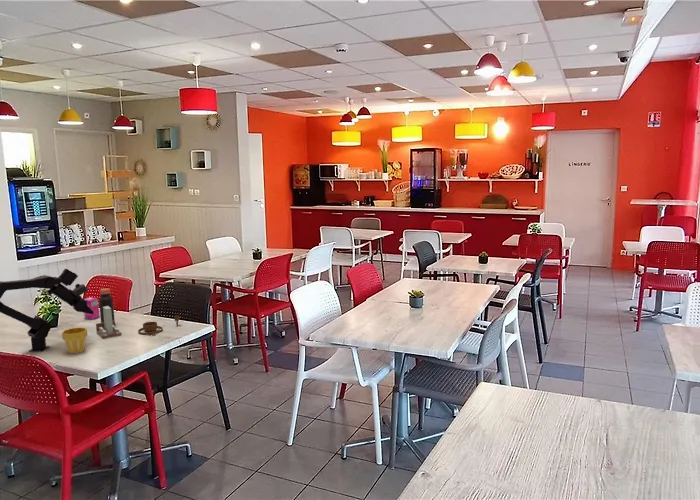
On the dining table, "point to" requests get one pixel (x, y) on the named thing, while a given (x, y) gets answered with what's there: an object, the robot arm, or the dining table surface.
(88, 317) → the supplement box
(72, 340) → the plant pot
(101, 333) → the cabinet base
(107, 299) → the bottle
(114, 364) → the dining table surface
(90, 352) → the dining table surface
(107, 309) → the pale green rectangular box
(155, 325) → the place setting
